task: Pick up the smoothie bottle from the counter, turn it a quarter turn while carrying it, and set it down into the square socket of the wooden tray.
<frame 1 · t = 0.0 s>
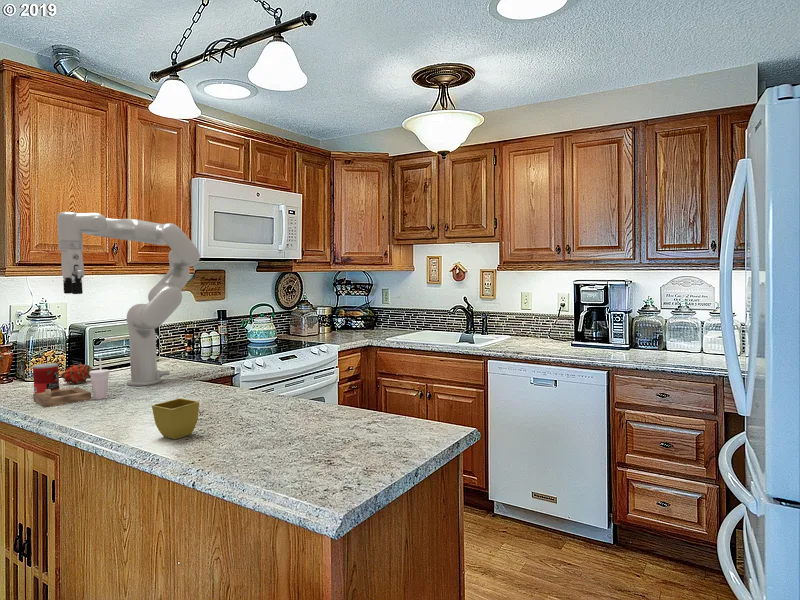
hand: (73, 293, 198), 37 cm above the counter, tool pointing down, fingers open, 9 cm apart
dragon fruit: (77, 383, 219), on the counter
smoothie: (100, 398, 192), on the counter
wooden tray: (62, 400, 190), on the counter
canned food: (47, 395, 199), on the counter
flower pot: (177, 437, 146), on the counter
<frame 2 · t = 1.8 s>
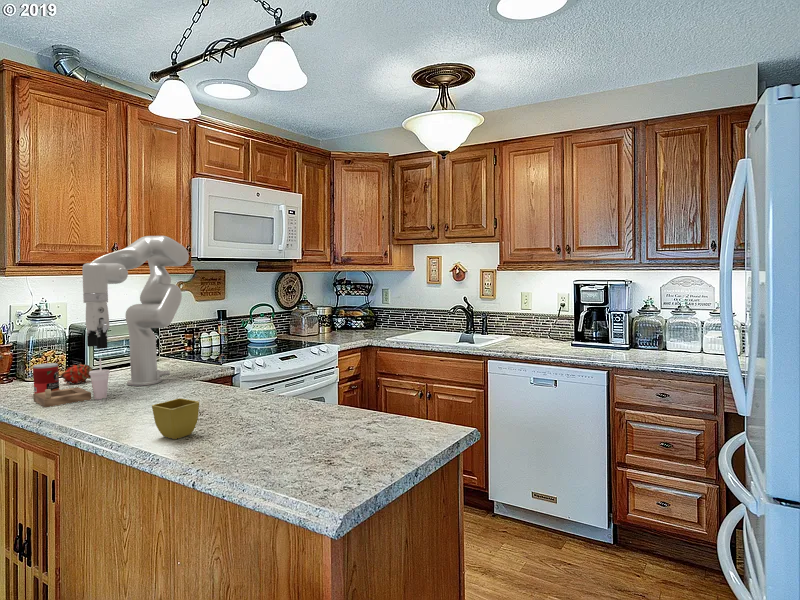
hand: (97, 347, 191), 18 cm above the counter, tool pointing down, fingers open, 9 cm apart
nothing on the counter moved.
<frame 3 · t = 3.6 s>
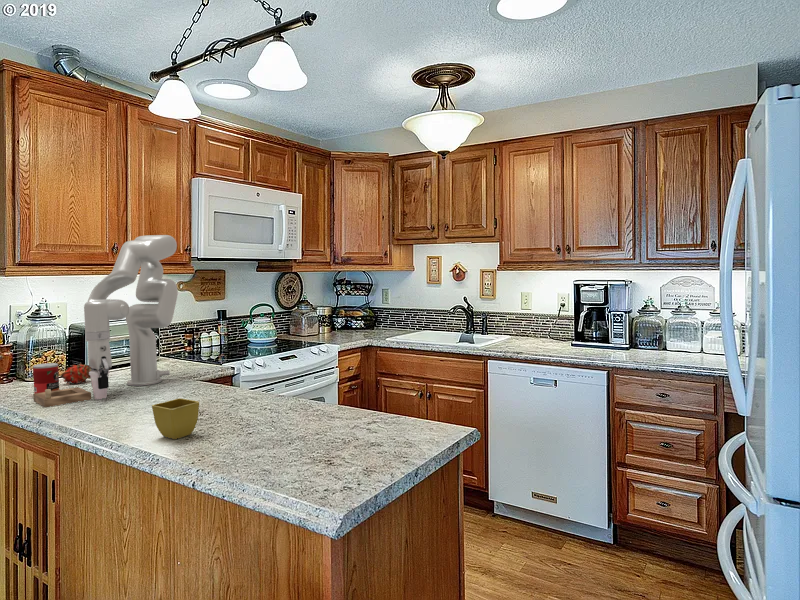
hand: (100, 386, 192), 4 cm above the counter, tool pointing down, fingers closed on smoothie, 6 cm apart
smoothie: (100, 398, 192), on the counter, touching gripper
everything else where it was.
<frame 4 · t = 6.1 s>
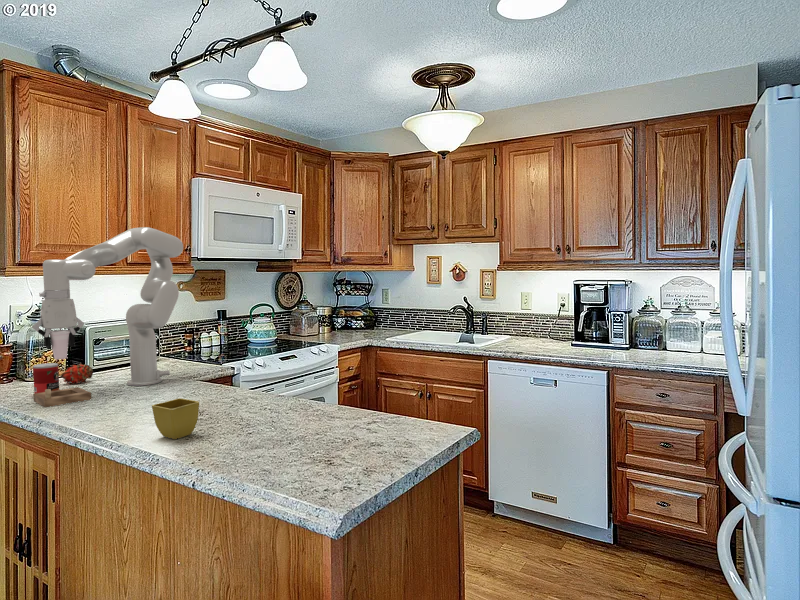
hand: (59, 346, 189), 19 cm above the counter, tool pointing down, fingers closed on smoothie, 6 cm apart
smoothie: (60, 359, 189), point 14 cm above the counter, touching gripper
everything else where it was.
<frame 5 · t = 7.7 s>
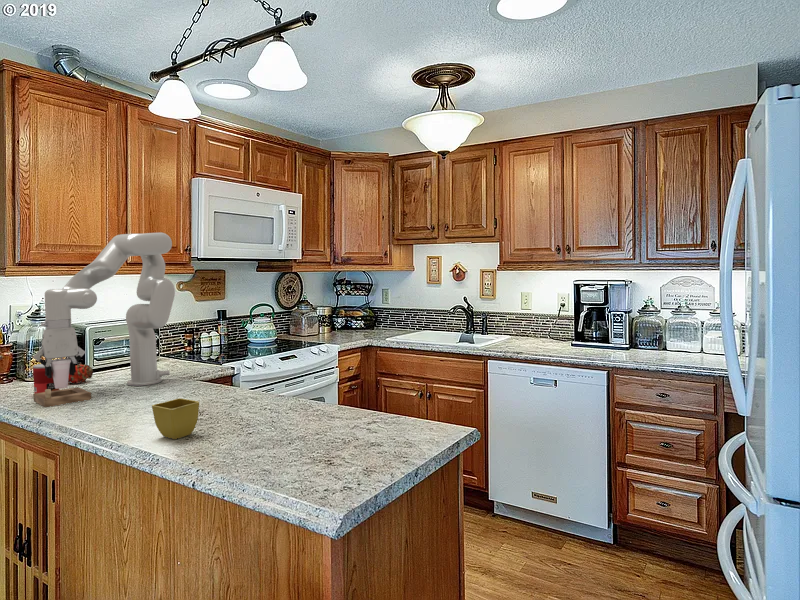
hand: (60, 375, 189), 9 cm above the counter, tool pointing down, fingers closed on smoothie, 6 cm apart
smoothie: (61, 388, 189), point 4 cm above the counter, touching gripper
everything else where it was.
when the fingers open (5 cm above the counter, at t = 8.9 s): smoothie drops 1 cm, resting in wooden tray.
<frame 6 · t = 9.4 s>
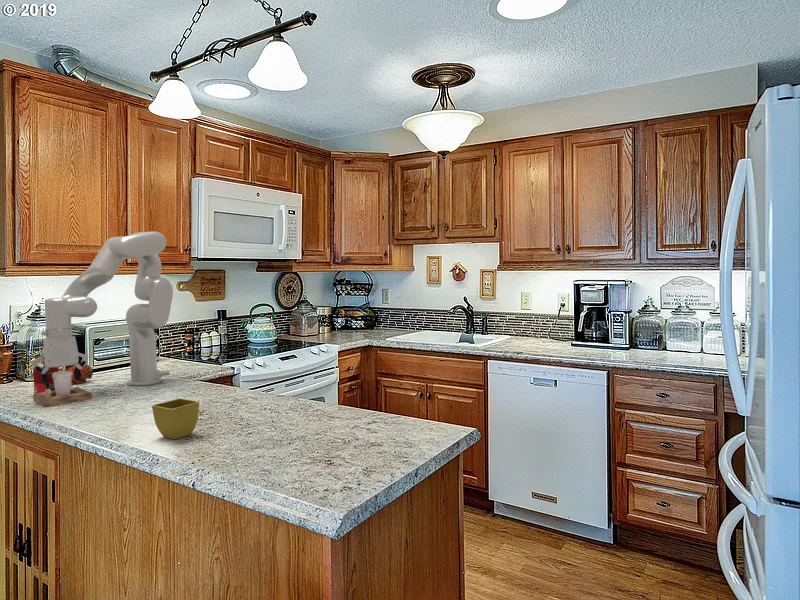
hand: (61, 382, 189), 6 cm above the counter, tool pointing down, fingers open, 9 cm apart
smoothie: (63, 400, 190), resting in wooden tray
everything else where it was.
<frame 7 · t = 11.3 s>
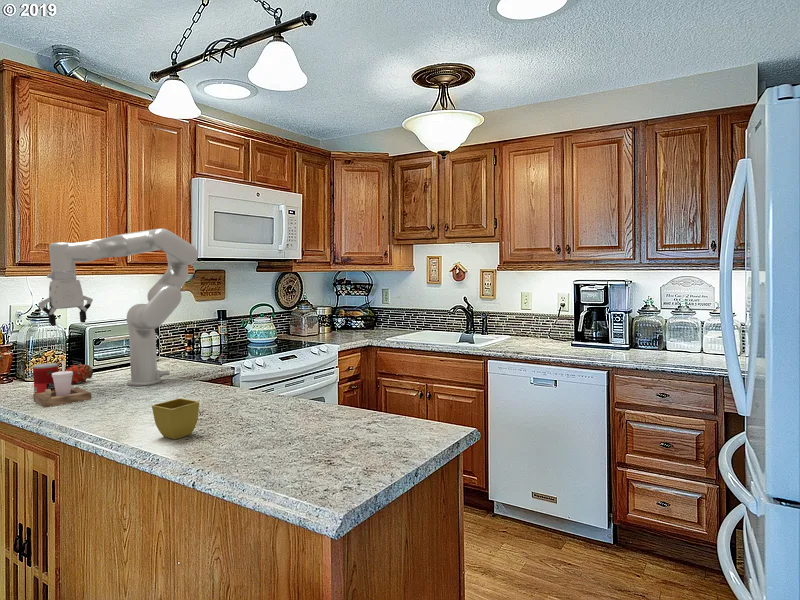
hand: (68, 323, 197), 26 cm above the counter, tool pointing down, fingers open, 9 cm apart
nothing on the counter moved.
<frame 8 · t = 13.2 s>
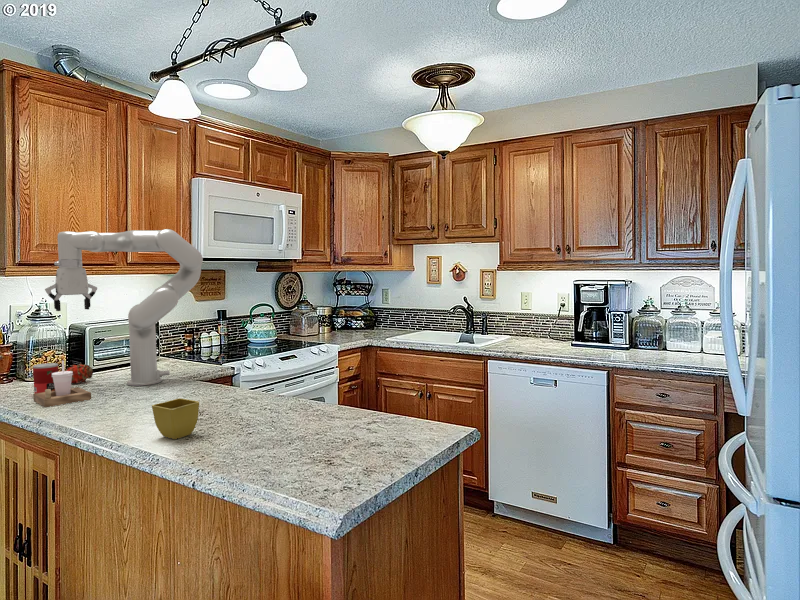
hand: (72, 310, 205), 30 cm above the counter, tool pointing down, fingers open, 9 cm apart
nothing on the counter moved.
at the end: smoothie 0.3 cm off-centre on the wooden tray, point 0.0 cm above the wooden tray's base; smoothie tilted 0°; the gripper is holding nothing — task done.
